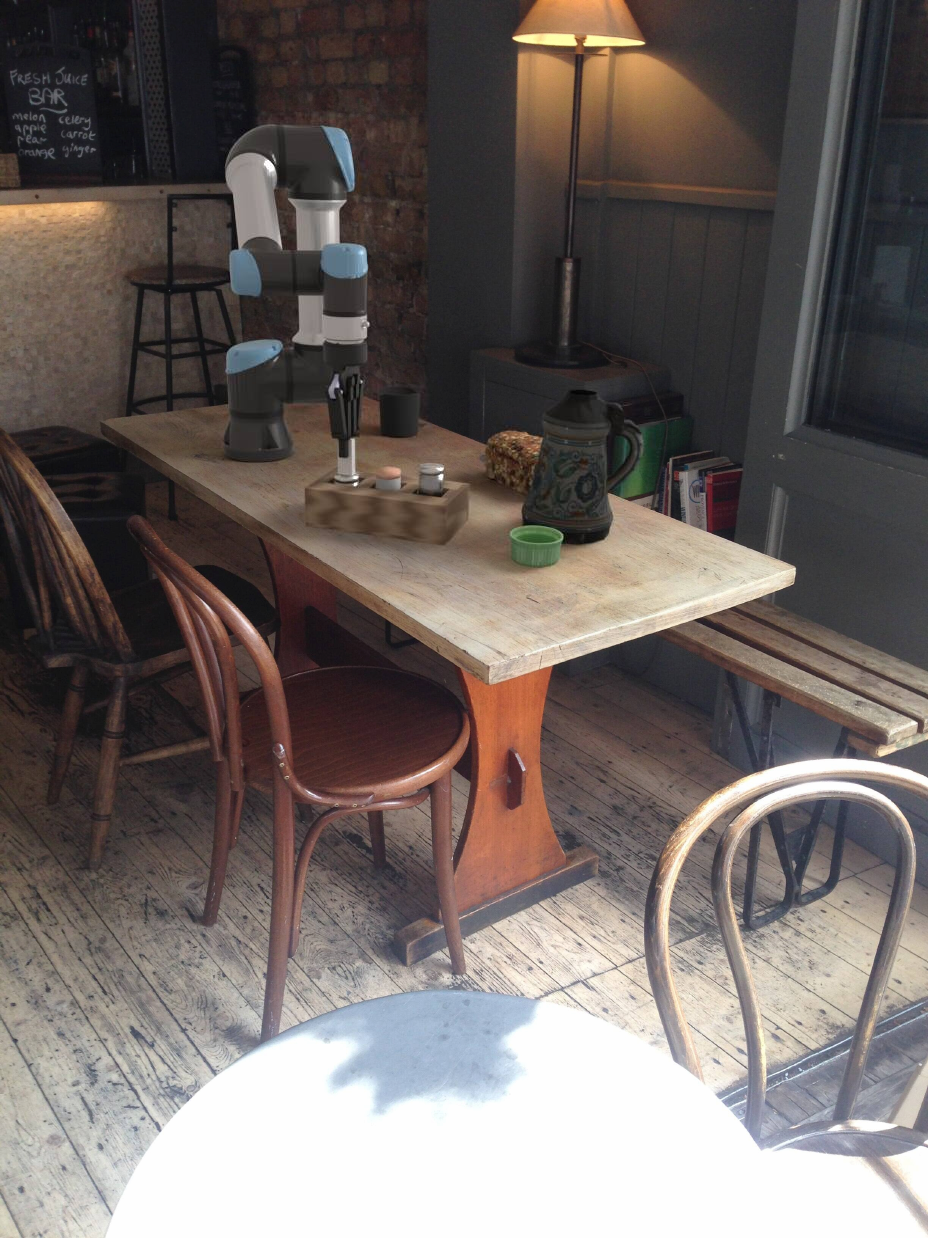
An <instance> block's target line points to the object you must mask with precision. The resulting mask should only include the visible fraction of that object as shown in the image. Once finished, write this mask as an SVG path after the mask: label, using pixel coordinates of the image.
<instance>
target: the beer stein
mask: <svg viewBox="0 0 928 1238" xmlns="http://www.w3.org/2000/svg"><path fill="white" fill-rule="evenodd" d="M541 415H542V416H541V423H542V428H543V435H542V438H543V439H542V444H541V448H540V453H539V457H538V462H537V466H536V470H535V474H534V478H533V481H532V485H531V488H530V491H529V493H528V494H527V496H526V498H525V500H524V502H523V504H522V506H521V510H520V511H521V517H522V526H545V527H550V528H553V529H556V530H558V531H560V532H561V533H562V534H563V541H562V543H561V545H569V546H571V545H575V546H579V545H580V546H582V545H588V544H594V543H598V542H601V541H604V540H605V539H606V538H607V537H608V536H609V534H610V531H611V526H612V524H613V521H614V513H613V510H612V508H611V505H610V504H611V503H610V500H609V499H610V498H609V494H610V493H611V492H613V491H614V490H616V489H617V488H618V487H619V486H621V485H622V484H624V482H625V481H626V480H627V479H628V478H629V477H630V476H631V475H632V474H633V472H635V470H636V468H637V467H638V465H639V463H640V461H641V458H642V456H643V452H644V451H643V450H644V440H643V436H642V434H643V431H642V429H641V428H640V427H639V426H637V425H636V423H635V422H634V421H632V420H630V419H626V414H625V411H624V409H623V408H622V406H621V404H619V403H617V402H612V401H606V400H604V399H602V398H601V397H600V396H599V392H596V391H595V390H594V391H593V390H588V389H570V390H568V391H567V393H566V394H565V396H564V397H563V398H561V400H559V401H557V402H556V403H554V404H553V405H551V406H550V407H549V408H547V409H545V411H544V412H543V414H541ZM608 436H611V437H622V438H624V439H626V440H627V442H628V445H629V451H628V454H627V455H626V457H625V459H624V461H623V463H622V464H621V465H620V466H618V468H617V469H615V470H614V472H613V473H611V475H608V451H607V450H608V449H607V445H608V444H607V443H608V442H607V441H608Z"/></svg>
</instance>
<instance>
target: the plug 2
mask: <svg viewBox="0 0 928 1238" xmlns="http://www.w3.org/2000/svg"><path fill="white" fill-rule="evenodd" d="M444 474H445V466H444V465H443V464H441V463H437V462H435V463H434V462H425V463H421V464H419V465H418V477H419V488H418V495H425V496H432V497H440V498H441V497H442V496H443V489H444V481H445V475H444Z"/></svg>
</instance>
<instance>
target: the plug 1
mask: <svg viewBox="0 0 928 1238" xmlns="http://www.w3.org/2000/svg"><path fill="white" fill-rule="evenodd" d="M334 484H340V485H347V486H356V485H358V484H359V474H358V473H356V472H355V474H354V475H352V476H350V475H342V474H338V472H337V473H335V474H334Z"/></svg>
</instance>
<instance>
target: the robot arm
mask: <svg viewBox="0 0 928 1238" xmlns="http://www.w3.org/2000/svg"><path fill="white" fill-rule="evenodd" d="M224 169H225V171H224V172H225V181H226V185H227V187H228V189H229V190H230V191H231V192H232V196H233V205H234V215H235V217H234V218H235V225H236V235H237V243H238V249H233V250H231V251H230V253H229V273H230V274H229V275H230V287H231V291H232V292H233V293H234V294H236V295H239V296H252V297H261V296H262V297H269V296H272V297H273V296H296V297H297V296H298V325H299V329H298V332H297V333H296V334H295V335H294V336H293V337H292V340H291V341H292V347H284V344H283V343H282V341H280V340H278V339H258V340H252V341H251V340H250V341H246V342H241V343H239V344H238V343H237V344H236V345H233V346H232V347H230V348H229V349H228V351H227V352H226V357H225V359H226V368H225V373H226V380H227V399H228V401H227V402H228V422H227V424H226V427H225V428H226V429H225V432H224V435H223V439H222V445H221V446H222V447H221V448H222V454H223V456H225V457H226V458H228V459H231V460H236V461H242V462H252V463H253V462H259V463H260V462H271V461H278V460H283V459H286V458H289V457H291V456H293V454H294V452H295V448H294V446H295V445H294V444H295V443H294V440H293V437H292V434H291V431H290V428H289V425H288V423H287V420H286V417H285V405H300V404H302V405H303V404H306V405H307V404H309V405H310V404H313V405H314V404H326V405H327V409H328V416H329V417H328V418H329V425H330V433H331V434H330V435H331V439H335V440H337V467H338V474H342V475H350V476H352V475H354V474H355V469H356V438H360V437H361V433H360V432H359V431H360V430H361V424H362V423H361V422H362V411H363V409H362V408H363V399H364V388H365V383H366V379H367V378H366V377H367V376H366V375H365V374H361V373H360V371H361V370H360V367H361V366H364V365H365V364H366V363H367V362H368V343H367V341H366V338H368V328H369V327H370V322H369V321H368V311H367V310H368V301H367V299H368V269H369V264H368V260H367V258H368V257H367V256H368V253H367V250H366V247H364V246H363V245H361V244H356V243H349V242H347V243H342V242H340V241H341V240H340V209H341V208H342V207H343V206H344V204H346V202H347V200H348V199H347V197H348V196H347V192H348V193H350V192H353V191H354V189H355V169H354V161H353V155H352V148H351V143H350V141H349V138H348V135H347V133H346V132H345V131H344V130H343V129H341V128H338V127H333V126H324V125H320V126H318V125H314V126H313V125H285V124H283V125H281V124H280V125H279V124H264V125H258V126H257V127H255V128H252V129H250V130H249V131H247V132H245V133H244V134H243V135H242V136H240V137H239V138H238V140H237V141H236V142H235V143H234V145H232V147H231V148H230V150H229V153H228V155H227V158H226V161H225V166H224ZM275 190H287V200H288V201H289V202H290V203H291V204H292V205H293V207H294V208H295V213H296V214H295V215H296V216H295V218H296V220H295V221H296V249H291V250H289V249H283V244H282V238H281V233H280V225H279V217H278V211H277V205H276V198H275Z"/></svg>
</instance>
